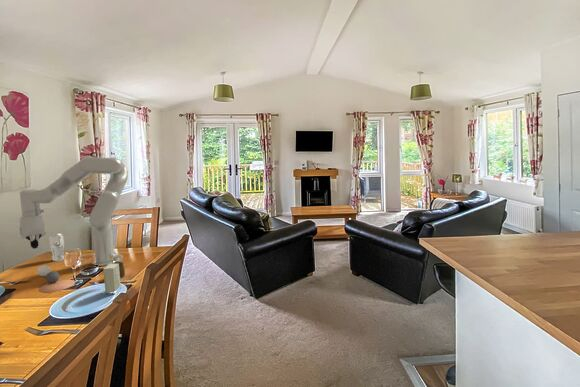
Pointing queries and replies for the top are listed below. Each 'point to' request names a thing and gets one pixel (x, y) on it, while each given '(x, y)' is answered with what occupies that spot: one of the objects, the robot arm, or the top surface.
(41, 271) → the cue ball
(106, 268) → the skincare box
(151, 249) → the top surface
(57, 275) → the object ball
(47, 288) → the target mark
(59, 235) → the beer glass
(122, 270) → the utensil holder
